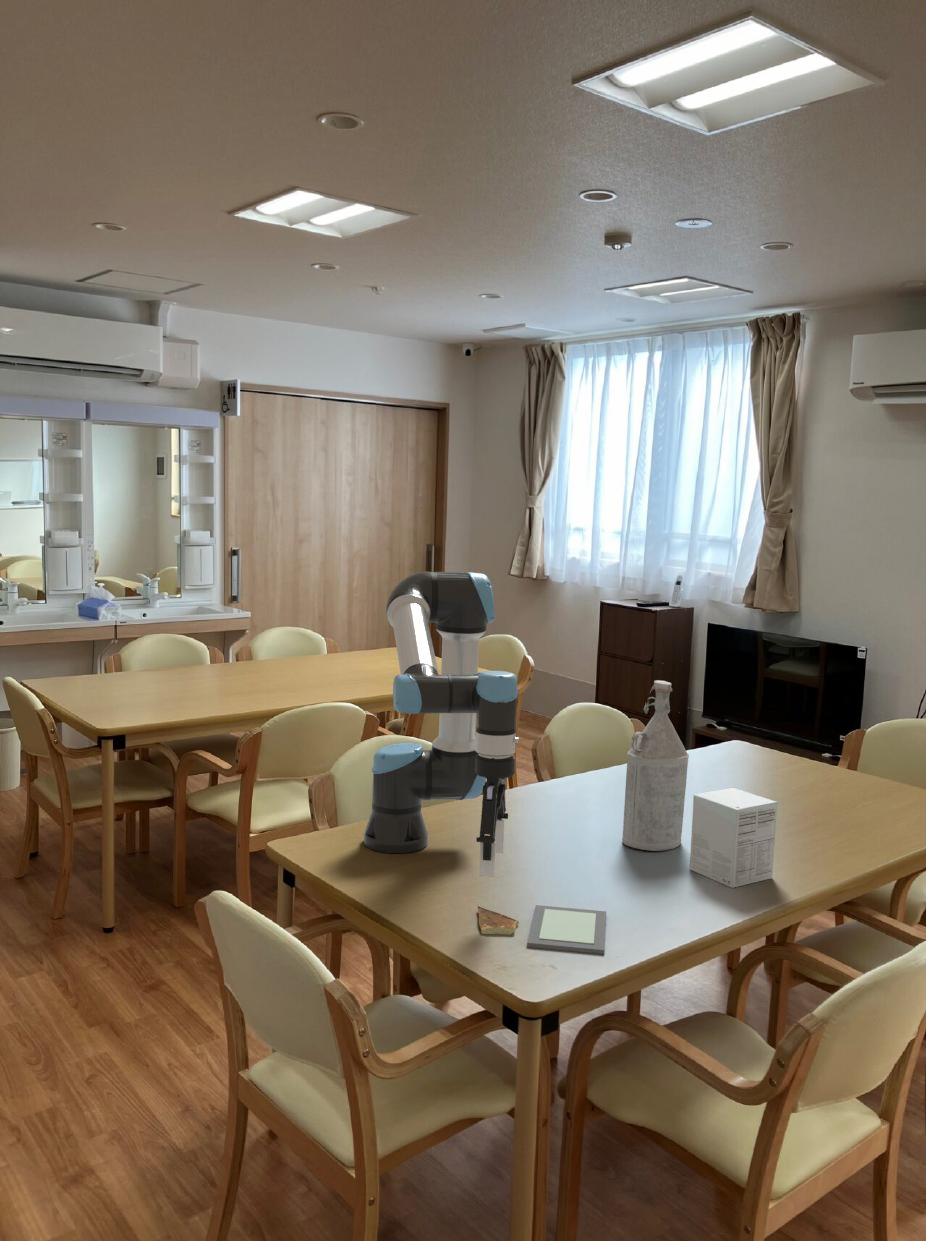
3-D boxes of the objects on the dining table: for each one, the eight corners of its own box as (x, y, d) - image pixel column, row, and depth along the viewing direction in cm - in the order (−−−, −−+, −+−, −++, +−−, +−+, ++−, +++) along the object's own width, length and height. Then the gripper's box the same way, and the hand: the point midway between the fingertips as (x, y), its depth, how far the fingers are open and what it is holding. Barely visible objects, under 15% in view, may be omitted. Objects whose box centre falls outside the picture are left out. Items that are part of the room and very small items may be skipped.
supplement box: (774, 878, 223) (779, 801, 221) (732, 889, 216) (737, 809, 214) (729, 860, 234) (733, 786, 232) (687, 869, 227) (692, 793, 225)
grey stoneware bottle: (607, 843, 244) (615, 680, 239) (653, 829, 255) (661, 674, 251) (649, 857, 234) (658, 689, 230) (694, 843, 245) (703, 682, 241)
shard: (477, 913, 200) (477, 904, 200) (515, 914, 200) (516, 905, 200) (479, 936, 189) (479, 927, 189) (520, 937, 190) (520, 927, 189)
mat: (527, 946, 184) (527, 941, 184) (535, 908, 202) (535, 904, 202) (604, 954, 182) (604, 948, 182) (606, 915, 200) (606, 910, 200)
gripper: (507, 771, 177) (503, 888, 179) (521, 741, 201) (518, 844, 204) (465, 768, 178) (461, 884, 180) (484, 738, 203) (481, 841, 205)
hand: (491, 863), depth 192 cm, fingers open, 13 cm apart
